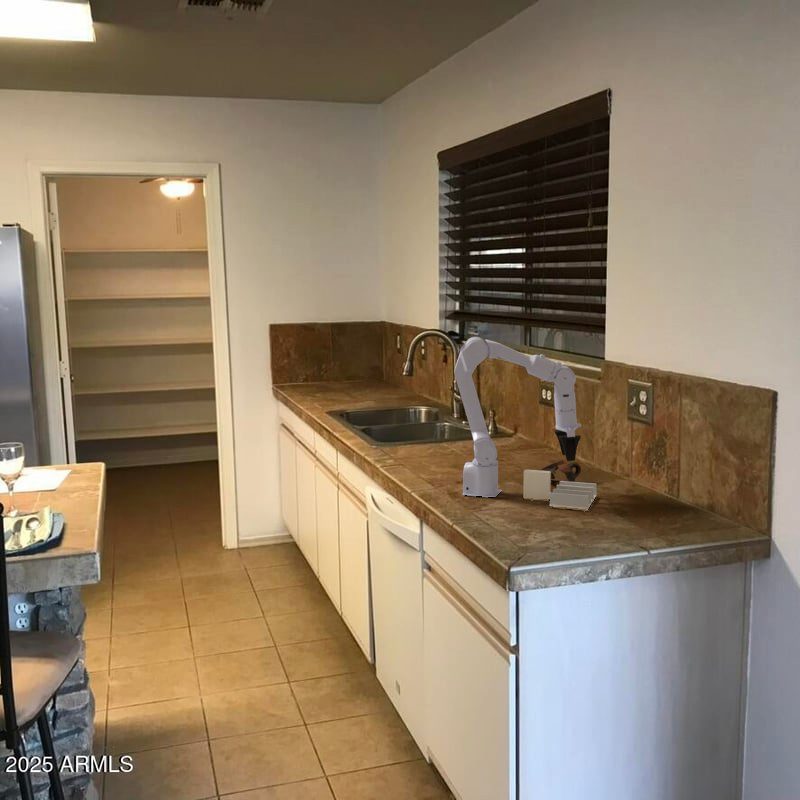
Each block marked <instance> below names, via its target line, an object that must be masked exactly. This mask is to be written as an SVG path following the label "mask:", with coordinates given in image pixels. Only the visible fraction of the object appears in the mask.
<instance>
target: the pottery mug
mask: <svg viewBox="0 0 800 800" xmlns="http://www.w3.org/2000/svg"><path fill="white" fill-rule="evenodd" d="M574 468H575V471H573V469H574ZM558 470H559V471H560V472H561V473H562V474H564V475H565V477H566V478H565V479H564V480H563V481H568V482H576V478H578V477H579V476H580V474H581V472H582V466H581V465H580V463H578V462H577V461H576V462H574V461H573V462H571V463H565V461H564V459H560V460H557V461H555V462H552V463H550V464H548V465H546V466H544V467H542V468H541V469H540V471H551V479H554V480H555V479H556V476H555V474H556V471H558Z"/></svg>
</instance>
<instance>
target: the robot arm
mask: <svg viewBox="0 0 800 800" xmlns="http://www.w3.org/2000/svg"><path fill="white" fill-rule="evenodd" d="M459 351H460V352H459V354H458V356H457V357H458V358H457V361H456V364H455V367H454V370H453V372H454V377H455V380H456V384H457V388H458V391H459V394H460V398H461V401H462V405H463V408H464V411H465V414H466V417H467V421H468V425H469V428H470V432H471V435H472V436H471V437H472V439H473V448H472V449H473V452H474V453H473V454H474V458H473V459H472V461H467V462H465V464H464V466H463V471H462V489H463V490H462V491H463V492H462V496H465V495H467V497H476V496H482V497H481V498H488V497H496V496H497V495H498V494H499V493H500V492H501V491H502V492H503V490H502V489H499V482H498V481H499V461H498V459H497V458H498V450H497V446H496V443H495V441H494V440H493V439H492V438H491V436H490V434H489V430H488V426H487V423H486V421H485V417H484V413H483V410H482V406H481V403H480V399H479V396H478V393H477V389H476V386H475V382H474V379H473V376H472V375H473V373H474V371H475V370H476V368H477V366H479V364H481V363H482V362H483V361H484V360H485V359H486V358H487V357H488V359H489V360H490V359H498V358H500V359H503V360H505V361H509V362H511V363H513V364H516V365H519V366H521V367H525V369H526V371H527V374H528V375H531V376H533V377H536V378H538V379H541V380H543V381H546V382H547V383H550V382H551V383H552V382H553V385H554V386H553V387H554V393H553V396H554V397H553V398H554V415H555V428H554V429H555V430H553V432H554V434H555V436H556V438H557V440H558V444H559V448H560V451H561V454H562V456H564V457H565V460H566V461H567V462H574V461H575V460H576V456H577V449H578V445H579V442H580V441H581V437H582V436H581V435H580V434H579V435H576V432H575V431H576V430H577V429H578V428H581V427H582V423H580V422H579V423H578V419H577V405H576V404H577V403H576V401H577V400H576V392H575V384H576V382H577V377H576V374H575V372H574V371H573V370H572V369H571V368H570V367H569V366H567V365H566V364H562V362H560V361H557V362H555V361H553V360H551V359H549V358H546V355H545V354H542V353H541V354H540V355H539V354H533V355H530V356H529V355H526V354H525V353H523V352H519V351H517V350H516V349H513V348H511V347H509V346H507V345H505V344H502V343H500V342H496V341H494V340H490V339H486V338H485V339H484V338H482V337H479V336H472V337H469V338H468V339H467V340H466V341H465V342H464V344H463V345H462V346H461V348H460V350H459ZM502 492H501V493H502ZM501 493H500V494H501ZM500 494H499V495H500ZM499 495H498V496H499ZM498 496H497V497H498ZM497 497H496V498H497Z"/></svg>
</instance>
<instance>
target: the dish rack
mask: <svg viewBox="0 0 800 800" xmlns="http://www.w3.org/2000/svg"><path fill="white" fill-rule="evenodd" d="M597 485H598V484H597V483H593V482H580V481H579V482H578V481H575V482H568V481H564V480H559V484H556V488H555V487H554V488H553V490H552V492H551V491H550V501H549V506H553V507H567V508H578V509H586V510H588V508H589V507H590V505H591V503H592V502H593V501H594V499H595V497H596V496H598V494H597ZM595 500H596V499H595ZM594 502H595V501H594ZM594 502H593V503H594ZM591 506H592V505H591ZM590 508H591V507H590ZM588 511H589V510H588Z"/></svg>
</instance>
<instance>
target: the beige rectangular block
mask: <svg viewBox="0 0 800 800" xmlns="http://www.w3.org/2000/svg"><path fill="white" fill-rule="evenodd" d="M551 483H552V481H551V471H541V470H540V469H539V470H538V469H524V470H523V485H522V486H523V491H522V492H523V495H522V496H523V498H533V499H547V500H548V499H550V492H551V490H552V489H551V486H552V484H551Z"/></svg>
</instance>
